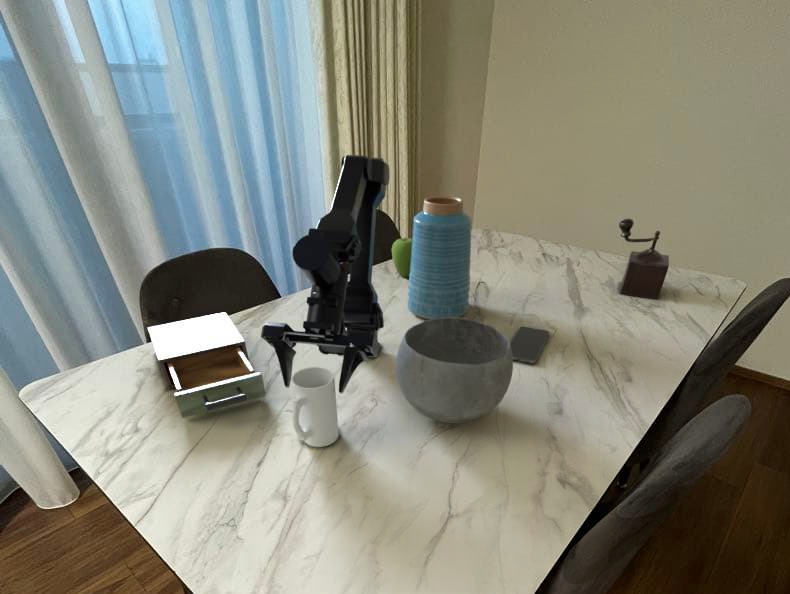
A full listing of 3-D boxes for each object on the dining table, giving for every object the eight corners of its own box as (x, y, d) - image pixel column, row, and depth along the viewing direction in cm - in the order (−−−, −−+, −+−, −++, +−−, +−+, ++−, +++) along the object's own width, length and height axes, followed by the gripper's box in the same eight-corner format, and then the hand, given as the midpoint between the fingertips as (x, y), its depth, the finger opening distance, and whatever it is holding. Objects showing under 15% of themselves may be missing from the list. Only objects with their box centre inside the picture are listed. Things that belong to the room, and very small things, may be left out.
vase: (397, 316, 122) (397, 203, 105) (420, 294, 134) (423, 190, 117) (457, 327, 117) (467, 211, 101) (475, 303, 129) (486, 196, 112)
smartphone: (502, 354, 104) (520, 325, 116) (502, 358, 105) (519, 329, 116) (535, 361, 102) (550, 330, 113) (534, 365, 103) (549, 334, 114)
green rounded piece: (419, 281, 142) (420, 241, 135) (391, 280, 142) (391, 241, 135) (418, 271, 149) (419, 232, 142) (392, 271, 149) (392, 232, 142)
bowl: (476, 458, 78) (486, 380, 69) (375, 419, 87) (372, 345, 77) (521, 400, 92) (534, 329, 82) (430, 371, 100) (433, 304, 91)
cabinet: (251, 369, 101) (244, 341, 96) (168, 389, 94) (158, 360, 90) (231, 338, 112) (225, 312, 108) (156, 354, 105) (147, 327, 101)
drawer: (272, 406, 88) (268, 384, 85) (186, 431, 82) (178, 408, 79) (244, 361, 101) (239, 341, 98) (168, 379, 95) (161, 358, 92)
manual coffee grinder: (658, 286, 140) (681, 222, 129) (658, 300, 132) (682, 232, 121) (603, 279, 145) (621, 216, 133) (600, 291, 137) (618, 225, 125)
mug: (314, 421, 86) (306, 363, 78) (347, 430, 84) (341, 371, 76) (283, 453, 79) (270, 393, 71) (317, 464, 77) (308, 403, 69)
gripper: (389, 322, 85) (377, 405, 84) (291, 313, 88) (278, 395, 86) (378, 295, 74) (364, 391, 73) (267, 287, 77) (251, 379, 75)
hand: (313, 389), depth 77 cm, fingers open, 9 cm apart
